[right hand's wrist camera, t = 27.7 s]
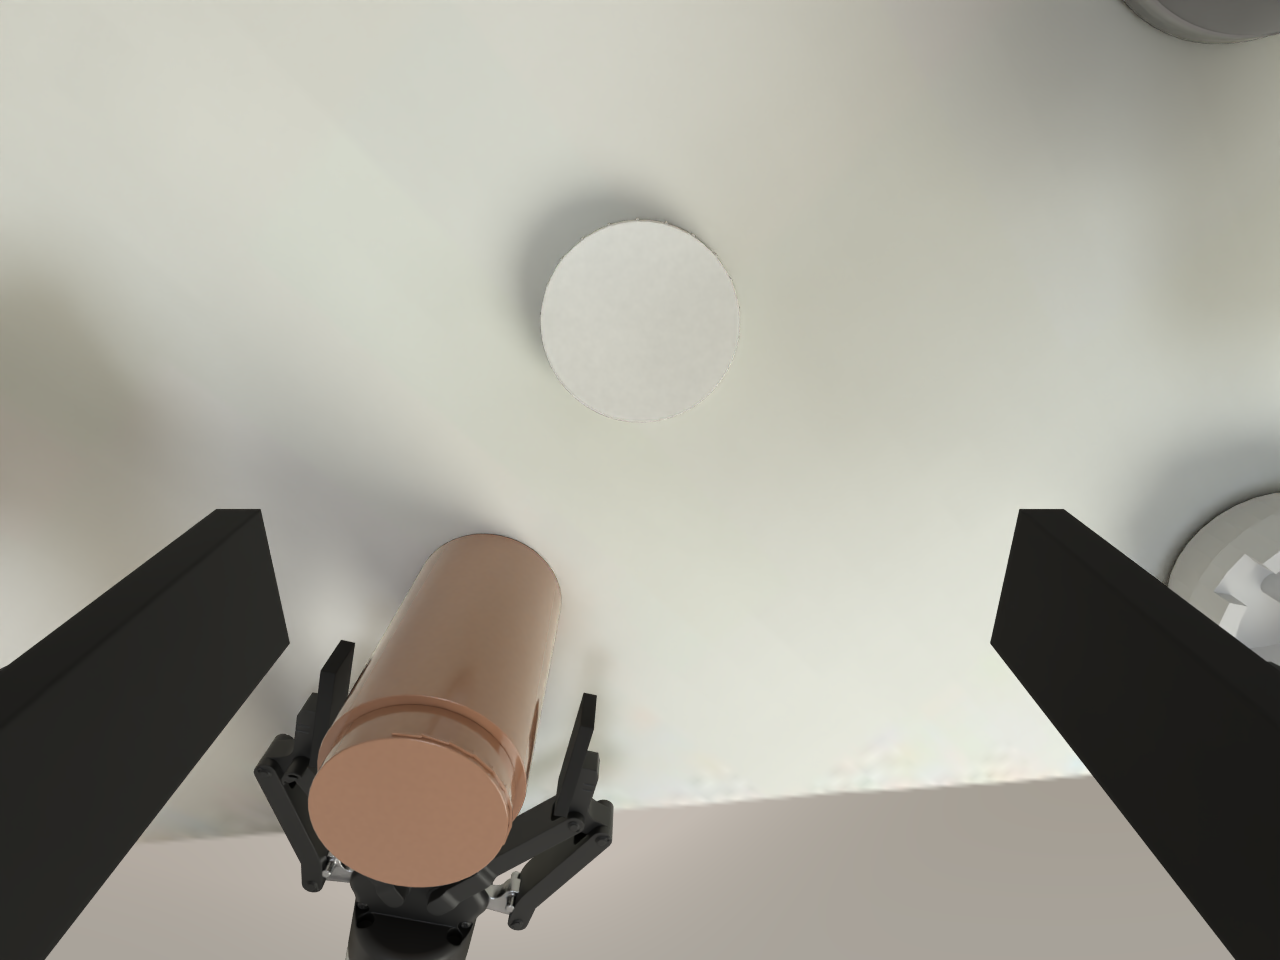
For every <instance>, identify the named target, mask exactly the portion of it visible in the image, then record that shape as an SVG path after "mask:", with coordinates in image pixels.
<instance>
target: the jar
mask: <svg viewBox="0 0 1280 960" xmlns="http://www.w3.org/2000/svg"><path fill="white" fill-rule="evenodd" d="M560 610H561V593H560V587H559V584H558V581H557V579H556V577H555V575H554V573H553V571H552V570H551V568H550V567H549V565H548V564H547V563H546V562H545V560H544V559H543V558H542V557H541V556H540V555H538V554H537V553H536V552H535V551H534V550H532V549H531V548H529V547H528V546H526V545H524V544H522V543H520V542H518V541H516V540H513V539H511V538H507V537H504V536H499V535H492V534H475V535H468V536H464V537H460V538H457V539H454V540H452V541H450V542H448V543H446V544H444V545H443V546H441V547H440V548H438V549H437V550H436V551H435V552H434V553H433V554H432V555H431V556H430V557H429V558H428V560H427V561H426V562H425V564H424V566H423V567H422V569H421V571H420V573H419V574H418V576H417V578H416V580H415V581H414V583H413V585H412V586H411V588H410V590H409V592H408V593H407V595H406V597H405V599H404V600H403V602H402V604H401V605H400V607H399V609H398V611H397V612H396V614H395V616H394V618H393V619H392V621H391V623H390V624H389V626H388V628H387V630H386V631H385V633H384V635H383V637H382V638H381V640H380V642H379V643H378V645H377V647H376V649H375V650H374V652H373V654H372V656H371V657H370V659H369V661H368V662H367V664H366V666H365V668H364V669H363V671H362V673H361V675H360V676H359V678H358V680H357V682H356V683H355V685H354V687H353V688H352V690H351V692H350V694H349V695H348V697H347V699H346V701H345V702H344V704H343V706H342V707H341V709H340V711H339V713H338V714H337V716H336V718H335V720H334V721H333V723H332V725H331V726H330V728H329V730H328V732H327V733H326V735H325V737H324V739H323V741H322V743H321V746H320V749H319V754H318V760H317V774H316V776H315V777H314V779H313V782H312V784H311V787H310V791H309V797H308V811H309V816H310V820H311V823H312V826H313V829H314V830H315V832H316V834H317V836H318V838H319V839H320V841H321V842H322V843H323V845H324V846H325V847H326V848H327V849H328V850H329V851H330V852H331V854H332V855H334V856H335V857H336V858H337V859H338V860H340V861H341V862H342V863H343V864H345V865H346V866H348V867H349V868H351V869H353V870H355V871H356V872H358V873H360V874H362V875H364V876H367V877H369V878H372V879H374V880H378V881H381V882H384V883H388V884H393V885H398V886H406V887H435V886H441V885H447V884H451V883H454V882H458V881H460V880H463V879H465V878H468V877H470V876H471V875H473V874H475V873H477V872H479V871H480V870H481V869H483V868H484V867H485V866H487V865H488V864H489V863H490V862H491V861H492V860H493V859H494V857H495V856H496V855H497V853H498V852H499V851H500V849H501V847H502V846H503V845H504V844H505V842H506V839H507V837H508V834H509V832H510V829H511V828H512V824H513V823H512V822H513V821H514V819H515V818H516V817H517V815H518V813H519V811H520V810H521V808H522V805H523V802H524V799H525V796H526V790H527V785H528V780H529V774H530V769H531V764H532V759H533V753H534V748H535V743H536V737H537V732H538V727H539V722H540V716H541V711H542V706H543V701H544V695H545V690H546V685H547V679H548V674H549V669H550V664H551V658H552V653H553V648H554V643H555V637H556V632H557V627H558V621H559V616H560Z"/></svg>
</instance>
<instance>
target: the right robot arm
mask: <svg viewBox="0 0 1280 960" xmlns="http://www.w3.org/2000/svg"><path fill="white" fill-rule="evenodd" d="M1123 1H1124V2H1125V3H1126V4H1127V5H1128V6H1129V8H1131V9H1132V10H1133V11H1134V12H1135V13H1136V14H1137V15H1138V16H1139V17H1140V18H1142V19H1143V20H1145V21H1146V22H1147V23H1149V24H1150V25H1152V26H1153V27H1155V28H1157V29H1159V30H1161V31H1163V32H1165V33H1167V34H1169V35H1172V36H1175V37H1177V38H1180V39H1184V40H1188V41H1193V42H1199V43H1208V44H1229V43H1237V42H1245V41H1250V40H1254V39H1258V38H1263V37H1267V36H1271V35H1275V34H1279V33H1280V0H1123ZM289 644H290V642H289V637H288V633H287V628H286V624H285V619H284V614H283V610H282V605H281V601H280V596H279V592H278V587H277V582H276V578H275V573H274V569H273V564H272V559H271V555H270V550H269V546H268V541H267V536H266V532H265V527H264V523H263V518H262V513H261V509H216V510H214V511H213V512H212V513H210V514H209V515H208V516H206V517H205V518H204V519H202V520H201V521H200V522H198V523H197V524H196V525H194V526H193V527H192V528H190V529H189V530H188V531H186V532H185V533H184V534H182V535H181V536H180V537H178V538H177V539H176V540H174V541H173V542H172V543H170V544H169V545H168V546H166V547H165V548H164V549H162V550H161V551H160V552H158V553H157V554H156V555H154V556H153V557H152V558H150V559H149V560H148V561H146V562H145V563H144V564H142V565H141V566H140V567H138V568H137V569H136V570H134V571H133V572H132V573H130V574H129V575H128V576H126V577H125V578H124V579H122V580H121V581H120V582H118V583H117V584H116V585H114V586H113V587H112V588H110V589H109V590H108V591H106V592H105V593H104V594H102V595H101V596H100V597H98V598H97V599H96V600H94V601H93V602H92V603H90V604H89V605H88V606H86V607H85V608H84V609H82V610H81V611H80V612H78V613H77V614H76V615H74V616H73V617H72V618H70V619H69V620H68V621H66V622H65V623H64V624H62V625H61V626H60V627H58V628H57V629H56V630H54V631H53V632H52V633H50V634H49V635H48V636H46V637H45V638H44V639H42V640H41V641H40V642H38V643H37V644H36V645H34V646H33V647H32V648H30V649H29V650H28V651H26V652H25V653H24V654H22V655H21V656H20V657H18V658H17V659H16V660H14V661H13V662H12V663H10V664H9V665H7V666H5V667H3V668H1V669H0V960H45V959H46V957H47V956H48V955H49V953H50V952H51V951H52V949H53V948H54V947H55V946H56V944H57V943H58V942H59V940H60V939H61V938H62V937H63V935H64V934H65V933H66V931H67V930H68V929H69V928H70V926H71V925H72V924H73V922H74V921H75V920H76V918H77V917H78V916H79V915H80V913H81V912H82V911H83V910H84V908H85V907H86V906H87V904H88V903H89V902H90V900H91V899H92V898H93V897H94V895H95V894H96V893H97V891H98V890H99V889H100V888H101V886H102V885H103V884H104V882H105V881H106V880H107V878H108V877H109V876H110V875H111V873H112V872H113V871H114V870H115V868H116V867H117V866H118V864H119V863H120V862H121V860H122V859H123V858H124V857H125V855H126V854H127V853H128V851H129V850H130V849H131V848H132V846H133V845H134V844H135V842H136V841H137V840H138V839H139V837H140V836H141V835H142V833H143V832H144V831H145V830H146V828H147V827H148V826H149V824H150V823H151V822H152V820H153V819H154V818H155V817H156V815H157V814H158V813H159V811H160V810H161V809H162V808H163V806H164V805H165V804H166V802H167V801H168V800H169V799H170V797H171V796H172V795H173V793H174V792H175V791H176V790H177V788H178V787H179V786H180V784H181V783H182V782H183V780H184V779H185V778H186V777H187V775H188V774H189V773H190V771H191V770H192V769H193V768H194V766H195V765H196V764H197V762H198V761H199V760H200V759H201V757H202V756H203V755H204V753H205V752H206V751H207V750H208V748H209V747H210V746H211V744H212V743H213V742H214V740H215V739H216V738H217V737H218V735H219V734H220V733H221V731H222V730H223V729H224V728H225V726H226V725H227V724H228V722H229V721H230V720H231V719H232V717H233V716H234V715H235V713H236V712H237V711H238V710H239V708H240V707H241V706H242V704H243V703H244V702H245V700H246V699H247V698H248V697H249V695H250V694H251V693H252V691H253V690H254V689H255V688H256V686H257V685H258V684H259V682H260V681H261V680H262V679H263V677H264V676H265V675H266V673H267V672H268V671H269V670H270V668H271V667H272V666H273V664H274V663H275V662H276V660H277V659H278V658H279V657H280V655H281V654H282V653H283V651H284V650H285V649H286V648H287V646H288V645H289ZM990 644H991V645H992V646H993V648H994V649H995V650H996V651H997V653H998V654H999V655H1000V657H1001V658H1002V659H1003V660H1004V662H1005V663H1006V664H1007V666H1008V667H1009V668H1010V670H1011V671H1012V672H1013V673H1014V675H1015V676H1016V677H1017V679H1018V680H1019V681H1020V682H1021V684H1022V685H1023V686H1024V688H1025V689H1026V690H1027V691H1028V693H1029V694H1030V695H1031V697H1032V698H1033V699H1034V700H1035V702H1036V703H1037V704H1038V706H1039V707H1040V708H1041V710H1042V711H1043V712H1044V713H1045V715H1046V716H1047V717H1048V719H1049V720H1050V721H1051V722H1052V724H1053V725H1054V726H1055V728H1056V729H1057V730H1058V731H1059V733H1060V734H1061V735H1062V737H1063V738H1064V739H1065V740H1066V742H1067V743H1068V744H1069V746H1070V747H1071V748H1072V750H1073V751H1074V752H1075V753H1076V755H1077V756H1078V757H1079V759H1080V760H1081V761H1082V762H1083V764H1084V765H1085V766H1086V768H1087V769H1088V770H1089V771H1090V773H1091V774H1092V775H1093V777H1094V778H1095V779H1096V780H1097V782H1098V783H1099V784H1100V786H1101V787H1102V788H1103V790H1104V791H1105V792H1106V793H1107V795H1108V796H1109V797H1110V799H1111V800H1112V801H1113V802H1114V804H1115V805H1116V806H1117V808H1118V809H1119V810H1120V811H1121V813H1122V814H1123V815H1124V817H1125V818H1126V819H1127V820H1128V822H1129V823H1130V824H1131V826H1132V827H1133V828H1134V829H1135V831H1136V832H1137V833H1138V835H1139V836H1140V837H1141V839H1142V840H1143V841H1144V842H1145V844H1146V845H1147V846H1148V848H1149V849H1150V850H1151V851H1152V853H1153V854H1154V855H1155V857H1156V858H1157V859H1158V860H1159V862H1160V863H1161V864H1162V866H1163V867H1164V868H1165V869H1166V871H1167V872H1168V873H1169V875H1170V876H1171V877H1172V879H1173V880H1174V881H1175V882H1176V884H1177V885H1178V886H1179V887H1180V889H1181V890H1182V891H1183V893H1184V894H1185V895H1186V897H1187V898H1188V899H1189V900H1190V902H1191V903H1192V904H1193V906H1194V907H1195V908H1196V910H1197V911H1198V912H1199V913H1200V915H1201V916H1202V917H1203V919H1204V920H1205V921H1206V922H1207V924H1208V925H1209V926H1210V928H1211V929H1212V930H1213V931H1214V933H1215V934H1216V935H1217V937H1218V938H1219V939H1220V940H1221V942H1222V943H1223V944H1224V946H1225V947H1226V948H1227V950H1228V951H1229V952H1230V953H1231V955H1232V956H1233V957H1234V958H1235V960H1280V666H1279V665H1277V664H1275V663H1273V662H1267V661H1266V660H1264V659H1263V658H1262V657H1260V656H1259V655H1258V654H1256V653H1255V652H1254V651H1252V650H1251V649H1250V648H1248V647H1247V646H1246V645H1244V644H1243V643H1242V642H1240V641H1239V640H1238V639H1236V638H1235V637H1234V636H1232V635H1231V634H1230V633H1228V632H1227V631H1226V630H1224V629H1223V628H1222V627H1220V626H1219V625H1218V624H1216V623H1215V622H1214V621H1212V620H1211V619H1210V618H1208V617H1207V616H1206V615H1204V614H1203V613H1202V612H1200V611H1199V610H1198V609H1196V608H1195V607H1194V606H1192V605H1191V604H1190V603H1188V602H1187V601H1186V600H1184V599H1183V598H1182V597H1180V596H1179V595H1178V594H1176V593H1175V592H1174V591H1172V590H1171V589H1170V588H1168V587H1167V586H1166V585H1164V584H1163V583H1162V582H1160V581H1159V580H1158V579H1156V578H1155V577H1154V576H1152V575H1151V574H1150V573H1148V572H1147V571H1146V570H1144V569H1143V568H1142V567H1140V566H1139V565H1138V564H1136V563H1135V562H1134V561H1132V560H1131V559H1130V558H1128V557H1127V556H1126V555H1124V554H1123V553H1122V552H1120V551H1119V550H1118V549H1116V548H1115V547H1114V546H1112V545H1111V544H1110V543H1108V542H1107V541H1106V540H1104V539H1103V538H1102V537H1100V536H1099V535H1098V534H1096V533H1095V532H1094V531H1092V530H1091V529H1090V528H1088V527H1087V526H1086V525H1084V524H1083V523H1082V522H1080V521H1079V520H1078V519H1076V518H1075V517H1074V516H1072V515H1071V514H1070V513H1068V512H1067V511H1066V510H1064V509H1019V513H1018V518H1017V523H1016V527H1015V532H1014V536H1013V541H1012V546H1011V550H1010V555H1009V559H1008V564H1007V569H1006V573H1005V578H1004V582H1003V587H1002V592H1001V596H1000V601H999V605H998V610H997V614H996V619H995V624H994V628H993V633H992V637H991V642H990Z"/></svg>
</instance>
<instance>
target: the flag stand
mask: <svg viewBox="0 0 1280 960" xmlns="http://www.w3.org/2000/svg"><path fill="white" fill-rule="evenodd" d="M1168 588H1170V589H1171V590H1172V591H1174V592H1175V593H1176V594H1178V595H1179V596H1180V597H1182V598H1183V599H1184V600H1186V601H1187V602H1188V603H1190V604H1191V605H1192V606H1194V607H1195V608H1196V609H1198V610H1199V611H1200V612H1202V613H1203V614H1204V615H1206V616H1207V617H1208V618H1210V619H1211V620H1212V621H1214V622H1215V623H1216V624H1218V625H1219V626H1220V627H1222V628H1223V629H1224V630H1226V631H1227V632H1228V633H1230V634H1231V635H1232V636H1234V637H1235V638H1236V639H1238V640H1239V641H1240V642H1242V643H1243V644H1244V645H1246V646H1247V647H1248V648H1250V649H1251V650H1252V651H1254V652H1255V653H1256V654H1258V655H1259V656H1260V657H1262V658H1263V659H1264V660H1266V661H1267V662H1273V663H1275V664H1277V665H1279V666H1280V493H1272V494H1268V495H1264V496H1260V497H1256V498H1253V499H1250V500H1248V501H1245V502H1243V503H1241V504H1238V505H1236V506H1234V507H1232V508H1230V509H1229V510H1227V511H1225V512H1224V513H1222V514H1220V515H1218V516H1217V517H1216V518H1214V519H1213V520H1212V521H1211V522H1209V523H1208V524H1207V525H1206V526H1204V527H1203V528H1202V529H1201V530H1200V531H1199V532H1198V533H1197V534H1196V535H1195V536H1194V537H1193V538H1192V539H1191V540H1190V541H1189V543H1188V544H1187V545H1186V547H1185V548H1184V550H1183V551H1182V553H1181V554H1180V556H1179V557H1178V559H1177V561H1176V563H1175V565H1174V568H1173V570H1172V572H1171V574H1170V579H1169V584H1168Z"/></svg>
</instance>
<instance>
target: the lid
mask: <svg viewBox="0 0 1280 960" xmlns="http://www.w3.org/2000/svg"><path fill="white" fill-rule="evenodd" d="M560 261H561V262H560V263H559V264H558V266H557V267H556V269H555V271H554V272H553V274H552V276H551V278H550V280H549V282H548V283H547V284H546V287H547V288H546V290H545V294H544V298H543V302H542V308H541V313H540V315H541V335H542V343H543V346H544V349H545V353H546V356H547V359H548V361H549V363H550V366H551V368H552V370H553V371H554V373H555V375H556V376H557V378H558V380H559V381H560V382H561V383H562V385H563V386H564V387H565V388H566V390H567V391H568V392H569V393H570V394H571V395H572V396H573V397H575V398H576V399H577V400H578V401H580V402H581V403H582V404H583V405H585V406H586V407H588V408H590V409H592V410H593V411H595V412H597V413H599V414H602V415H604V416H606V417H610V418H613V419H617V420H621V421H627V422H653V421H659V420H664V419H668V418H671V417H674V416H676V415H679V414H681V413H683V412H685V411H687V410H689V409H691V408H693V407H694V406H695V405H697V404H698V403H700V402H701V401H702V400H704V399H705V398H706V397H707V396H708V395H709V394H710V393H711V392H712V391H713V390H714V389H715V388H716V387H717V385H718V384H719V383H720V382H721V380H722V379H723V377H724V376H725V374H726V373H727V371H728V369H729V367H730V365H731V363H732V360H733V357H734V355H735V352H736V349H737V344H738V339H739V332H740V310H739V309H740V307H739V305H738V299H737V295H736V292H735V289H734V286H733V283H732V281H733V280H732V279H731V278H730V277H729V275H728V273H727V271H726V269H725V268H724V266H723V265H722V263H721V262H720V260H719V259H718V258H717V254H716V253H714V252H712V251H711V250H710V249H709V248H707V247H706V246H705V245H704V244H703V243H702V242H701V241H699V240H698V239H697V238H695V235H694V234H693V233H691V234H689V233H688V232H686V231H684V230H682V229H680V228H678V227H676V226H673V225H670V224H668V222H667V221H665V223H664V222H659V221H653V220H639V218H636V220H627V221H621V222H617V223H613V224H610V223H608V224H607V226H605V227H603V228H600V229H598V230H596V231H595V232H593V233H591V234H590V235H588V236H586V237H585V236H583V237H582V238H581V241H580V242H579V243H578V244H576V245H575V246H574V247H573V248H572V249H571V250H570V251H569V252H568V253H567V254H566V255H565V256H563V257H562V258H561V259H560Z"/></svg>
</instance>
